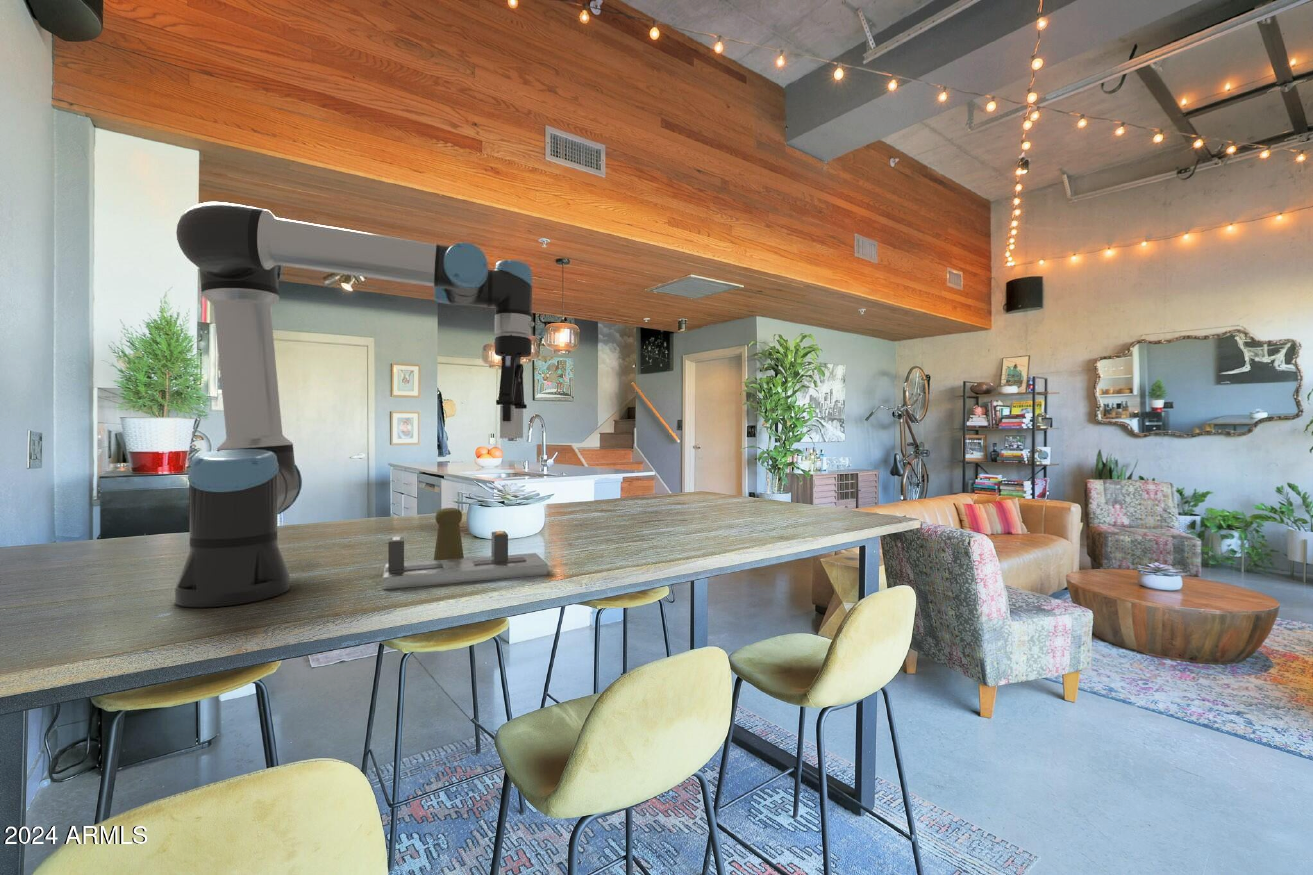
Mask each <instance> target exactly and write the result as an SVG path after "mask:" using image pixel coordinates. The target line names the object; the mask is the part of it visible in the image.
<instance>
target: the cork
mask: <svg viewBox="0 0 1313 875" xmlns="http://www.w3.org/2000/svg"><path fill="white" fill-rule="evenodd" d="M462 520H463V513H462V510H461V509H459V508H457V507H455V508H454V507H445V508H440V509H438V510H437V511H436V512H435V522H436V524H437V525H438V526H437V533H436V540H435V547H434V553H433V554H434V556H433V561H436V560H449V559H463V558H465V557H464V556H465V555H464V549H463V542H462V533H461V526H460V524H461V522H462Z"/></svg>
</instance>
